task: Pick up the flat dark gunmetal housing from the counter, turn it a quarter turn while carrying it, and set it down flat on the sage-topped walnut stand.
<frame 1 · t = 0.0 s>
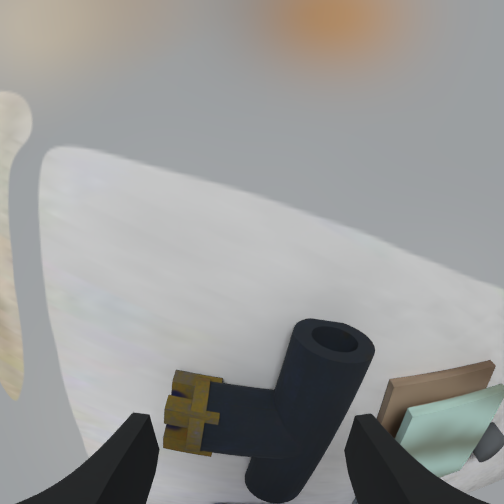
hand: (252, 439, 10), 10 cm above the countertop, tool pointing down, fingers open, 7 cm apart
stand: (425, 420, 23), on the countertop
knob: (481, 434, 25), on the countertop
pipe connector: (253, 396, 22), on the countertop
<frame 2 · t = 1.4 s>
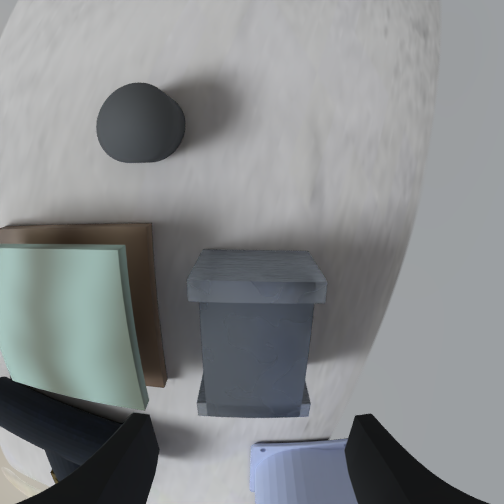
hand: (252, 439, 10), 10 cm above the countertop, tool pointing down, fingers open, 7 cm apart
stand: (77, 304, 19), on the countertop
knob: (151, 127, 16), on the countertop
pipe connector: (80, 433, 24), on the countertop
housing: (254, 313, 19), on the countertop
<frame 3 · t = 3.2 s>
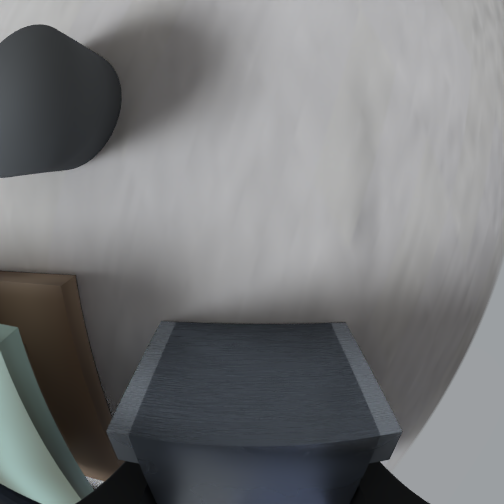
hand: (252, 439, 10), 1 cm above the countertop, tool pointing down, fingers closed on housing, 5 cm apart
stand: (5, 375, 11), on the countertop
knob: (68, 109, 8), on the countertop
pipe connector: (44, 490, 15), on the countertop
housing: (252, 412, 11), on the countertop, touching gripper
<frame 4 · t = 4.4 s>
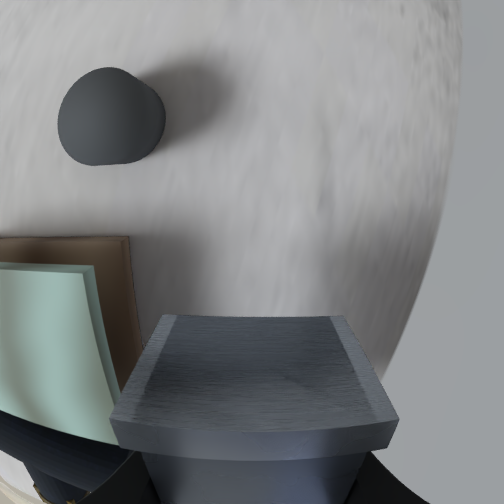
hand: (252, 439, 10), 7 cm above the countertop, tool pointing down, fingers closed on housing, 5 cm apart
stand: (53, 326, 16), on the countertop
knob: (125, 122, 13), on the countertop
pipe connector: (63, 443, 20), on the countertop
housing: (252, 406, 11), point 5 cm above the countertop, touching gripper
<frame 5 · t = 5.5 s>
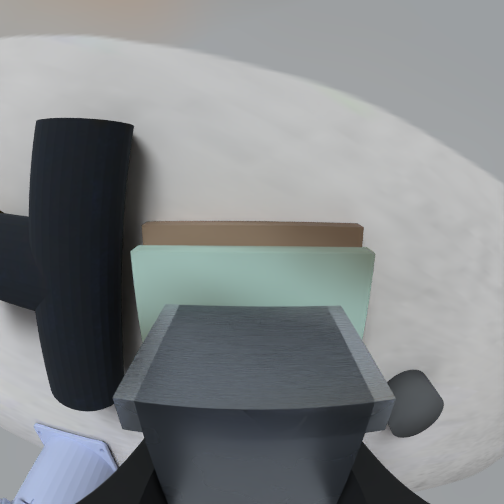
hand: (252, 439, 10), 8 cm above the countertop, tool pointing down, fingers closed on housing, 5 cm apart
stand: (251, 327, 18), on the countertop
knob: (402, 391, 20), on the countertop
pipe connector: (54, 249, 17), on the countertop
housing: (252, 396, 12), point 6 cm above the countertop, touching gripper
when the fingers open (7 cm above the countertop, at t = 6.7 s): housing stays where it is, resting on stand.
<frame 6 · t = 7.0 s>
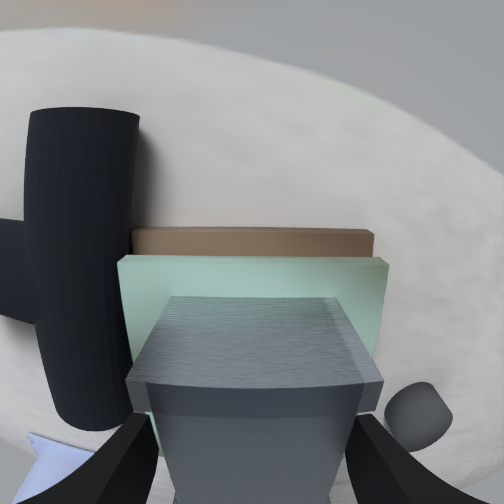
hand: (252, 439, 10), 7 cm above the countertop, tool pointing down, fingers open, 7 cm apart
stand: (251, 340, 16), on the countertop
knob: (410, 403, 18), on the countertop
pipe connector: (53, 255, 16), on the countertop
housing: (252, 384, 12), point 4 cm above the countertop, touching stand
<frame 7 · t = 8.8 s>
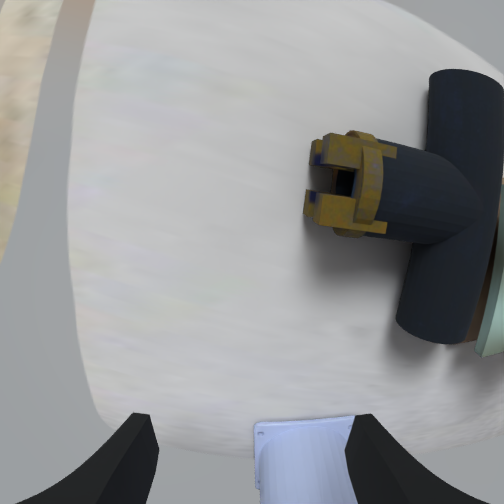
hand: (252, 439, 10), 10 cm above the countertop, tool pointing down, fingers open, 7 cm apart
pipe connector: (395, 192, 18), on the countertop
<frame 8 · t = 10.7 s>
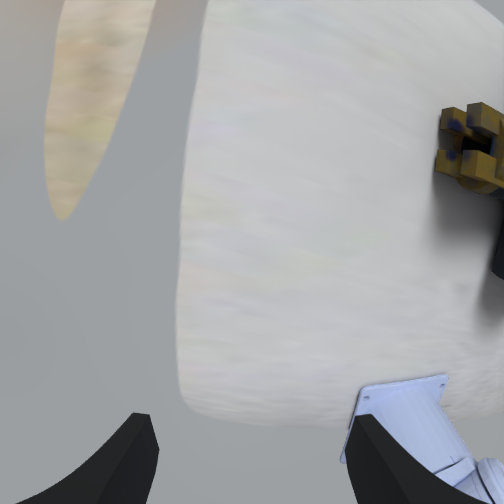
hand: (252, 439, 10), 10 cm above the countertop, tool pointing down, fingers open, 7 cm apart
pipe connector: (491, 163, 17), on the countertop
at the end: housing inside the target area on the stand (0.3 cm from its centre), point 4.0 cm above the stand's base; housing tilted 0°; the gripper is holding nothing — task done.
